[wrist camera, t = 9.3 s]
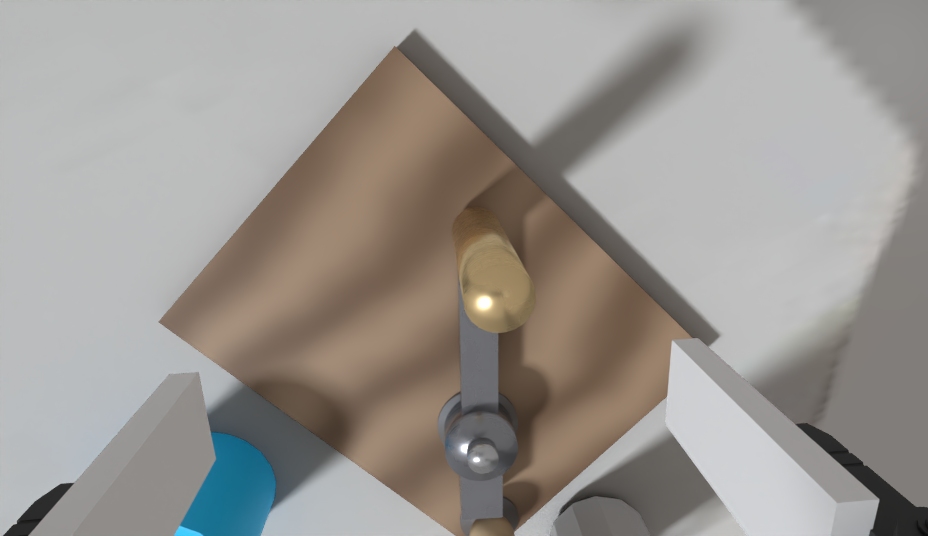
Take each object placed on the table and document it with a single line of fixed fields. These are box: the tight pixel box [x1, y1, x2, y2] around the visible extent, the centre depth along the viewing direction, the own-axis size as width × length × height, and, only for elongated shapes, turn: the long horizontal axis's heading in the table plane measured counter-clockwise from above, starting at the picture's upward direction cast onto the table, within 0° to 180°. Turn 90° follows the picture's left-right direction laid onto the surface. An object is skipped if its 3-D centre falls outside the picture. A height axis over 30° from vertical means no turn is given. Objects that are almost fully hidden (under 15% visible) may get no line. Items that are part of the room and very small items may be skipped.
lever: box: [444, 207, 536, 520], centre depth 29 cm, size 20×4×11 cm, turn 1°
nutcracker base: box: [159, 46, 692, 536], centre depth 34 cm, size 27×21×4 cm
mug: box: [174, 432, 276, 536], centre depth 34 cm, size 12×8×8 cm
